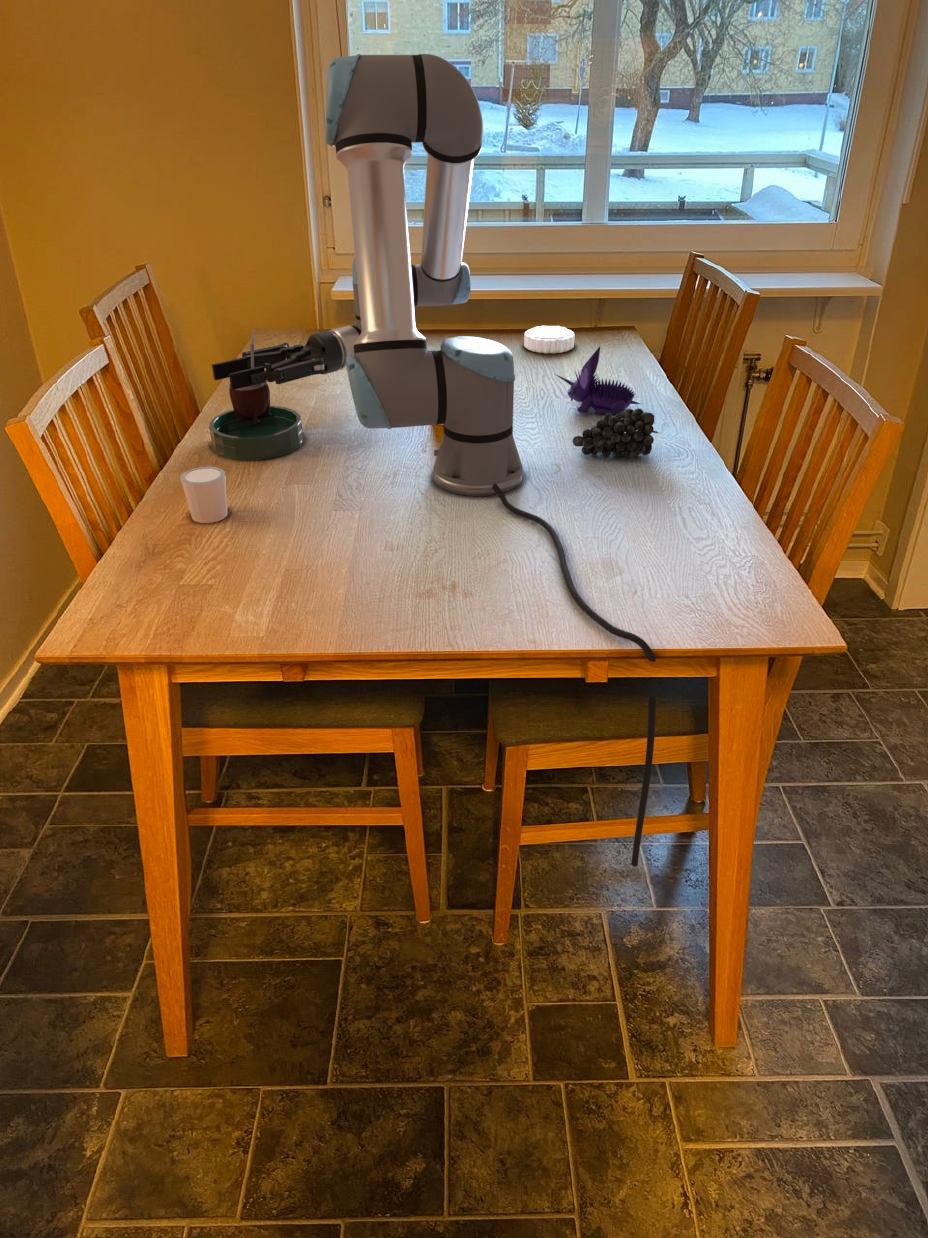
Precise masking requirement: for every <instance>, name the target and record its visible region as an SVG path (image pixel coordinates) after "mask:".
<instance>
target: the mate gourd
mask: <svg viewBox="0 0 928 1238" xmlns="http://www.w3.org/2000/svg"><path fill="white" fill-rule="evenodd" d="M257 331H258V328H253V331H252V335H251V340H250V344H249V351H251V368H254V350H255V340H256V335H257ZM228 386H229V387H228V388H229V390H228V391H229V392H228V393H229V397H230V401H231V406H232V410H233V409H234V411H235V413H236V415H237V417H238V419H237V422H238V423H240V422H245V421H251V420H253V421H254V423H255V424H260V421H259V420H258V419H261V418H266V417H271V413H269V409H270V406H271V393H270V392H271V391H270V386H269V384H268V381H266V382H263V383H259V384H255V385H251V386H247V387H243V388H239V389H235V390H232V389H231V385H230V384H229V385H228Z"/></svg>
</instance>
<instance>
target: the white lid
mask: <svg viewBox="0 0 928 1238" xmlns="http://www.w3.org/2000/svg"><path fill="white" fill-rule="evenodd" d="M523 335H524V337H523V346H524V348H526V350H528V351H531V352H536V353H538V354H561V353H566V352H569V351H571V350H573V348H574V347H575V338H576V336H575V332H574V331H572V330H571V329H568V328H566V326H560V325H540V326H535V327H532V328H530V329H526V331H524V334H523Z"/></svg>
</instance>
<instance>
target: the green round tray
mask: <svg viewBox="0 0 928 1238" xmlns="http://www.w3.org/2000/svg"><path fill="white" fill-rule="evenodd" d="M269 413H271V417H266V418H261V419H258V420H259V421H260V424H255V423H254V421H253V420H251V421H245V422H240V423H238V422H237V419H238V417H237V415H236V413H235V411H234V409H233V408H232V409H230V410H227V411H224V412H221V413H220V414H218V415H216V416H214V417H213V418H212V419H211V420H210V421H209V433H210V441H211V447H212V449H213V451H214V452H215V453H216V454H218V455H219V456H221V457H223V458H227V459H231V460H235V461H236V460H237V461H261V460H270V459H274V458H278V457H281V456H285V455H288V454H290V453H292V452H294V451H296V450H298V449H299V448H300V447H301V445H302V444H303V442H304V435H303V434H304V433H303V424H302V416H301V414H300V413H299V412H297V411H296V410H294V409H292V408H289V407H285V406H279V405H270V409H269Z"/></svg>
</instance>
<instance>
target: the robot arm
mask: <svg viewBox="0 0 928 1238" xmlns="http://www.w3.org/2000/svg"><path fill="white" fill-rule="evenodd" d="M326 74H327V75H326V98H325V99H326V102H325V103H326V104H325V135H324V136H325V140H324V141H325V144H326V145H328V146H330V147H335V157H336V160H337V161H338V162H340V164H342V165H343V167H345V168H346V170H347V180H348V191H349V202H350V213H351V214H350V215H351V224H352V237H353V247H354V258H353V260H352V264H351V265H352V266H351V267H352V268H351V269H352V271H351V272H352V281H351V284H352V292H353V303H354V304H353V305H354V318H355V319H354V320H355V324H352V325H345V326H340V327H336V328H331V329H330V330H324V331H321V332H315V333H312V334H310V335H309V337H308V338H307V340H306V341H307V342H306V343H305V345H303V344H295V345H293V346H290V343H289V342H283V343H280V344H277V345H273V346H268V347H264V348H258V349H254V368H251V350H247V351H243V352H241V356H242V357H238V358H234V359H229V360H225V361H221V362H218V363H217V362H216V363H213V364H211V368H212V375H213V380H214V381H219V380H223V379H227V378H228V379H229V385H231V389H232V390H235V389H239V388H243V387H247V386H251V385H255V384H259V383H263V382H266V381H267V383H273V382H275V384H276V385H282V384H285V383H288V382H292V381H296V380H299V379H300V380H301V379H304V378H308V377H311V376H314V375H327V374H331V373H336V372H338V371H342V370H346V372H347V378H348V382H349V386H350V391H351V396H352V401H353V404H354V409H355V411H356V416H357V418H358V421H359V423H360V424H361V425H362V426H363V427H365V429H387V430H391V429H396V428H410V427H422V426H423V427H425V426H436V425H442V426H443V428H442V430H443V431H442V432H443V434H442V438H441V442H440V445H439V448H438V449H434V450H433V457H436V458H435V461H434V464H433V480H434V483H435V484H436V485H437V486H438V487H439V488H441V489H443V490H445V491H447V492H450V493H453V494H456V495H460V496H461V495H463V496H468V497H469V496H470V497H471V496H472V497H483V496H484V497H486V496H494V495H497V497H498V498H499V499H500V501H501V503H502V505H503V507H505V508H506V509H507V510H508V511H510V512H511V513H513V514H515V515H516V516H518V517H521V518H524V519H527V520H529V521H532V522H534V523H537V524H539V525H540V526H541V527H542V528H543V529H545V530H546V532H547V533H548V534H549V536H550V538H551V540H552V542H553V544H554V547H555V549H556V551H557V554H558V560H559V565H560V569H561V573H562V577H563V579H564V582H565V586H566V588H567V590H568V593H569V594H570V596H571V598H572V600H574V603H576V605H577V606H578V607H579V608H580V609H581V610H582V611H583V613H585V614H586V615H587V616H588V617H589V618H590V619H591V620H593V621H594V622H595V623H597V624H598V625H599V626H600V627H602V628H603V629H605V630H606V631H607V632H609V633H610V634H612V635H614V636H616V637H618V638H619V637H620V638H622V639H625V640H628V641H631V642H633V643H635V644H636V645H637V646H639V648H641V650H642V652H643V653H644V654H645V656H646V658H647V660H648V661H649V662H652V663H656V662H657V660H656V656H655V654H654V652H653V650H652V648H651V646H650V645H649V644H648V643H647V641H645V640H644V639H643V638H642V637H640V636H638V635H637V634H634V633H633V632H630V631H626V630H624V629H621V628H619V627H616V626H613V624H611V623H610V622H608V621H607V620H605V619H604V618H603V617H601V616H600V615H599V614H598V613H596V612H595V611H594V610H593V609H592V608H591V607H590V606H589V605H588V604H587V603H586V602H585V601H584V600H583V599H582V597H581V596H580V594H579V593H578V591H577V590H576V587H575V585H574V582H573V580H572V576H571V573H570V570H569V568H568V565H567V564H568V563H567V559H566V554H565V553H566V552H565V550H564V547H563V545H562V543H561V540H560V538H559V536H558V533H556V531H555V529H554V528H553V526H551V524H550V523H548V522H547V521H546V520H545V519H543V518H541V517H540V516H538V515H536V514H534V513H530V512H528V511H525V510H522V509H520V508H517V507H515V506H514V505H513V504H512V503H510V502H509V500H508V499H507V497H506V495H505V494H504V493H506V492H509V491H511V490H514V489H515V488H516V487H518V486H519V485H520V484H521V483H522V480H523V471H524V470H523V464H522V461H521V458H520V454H519V451H518V448H517V445H516V441H515V438H514V430H513V429H514V428H513V427H514V399H515V398H514V393H515V381H516V375H515V360H514V356H513V353H512V352H511V350H510V349H509V348H508V347H507V346H506V345H504V344H503V343H500V342H498V341H494V340H492V339H487V338H485V337H484V338H483V337H479V336H477V337H476V336H467V335H458V336H457V335H455V336H452V337H448V338H447V337H446V338H444V339H443V340H442V342H441V345H440V346H439V347H440V350H428V346H427V338H426V337H425V336H424V335H423V334H422V333H421V332H419V330H418V329H417V326H416V316H415V307H435V306H437V307H438V306H452V305H459V304H465V303H467V302H468V301H469V299H470V297H471V290H472V289H471V286H472V283H471V282H472V281H471V272H470V268H469V265H468V264H467V263H465V262H462V260H463V255H464V254H463V253H464V245H465V236H466V229H467V220H468V213H469V212H468V211H469V204H470V203H469V202H470V195H471V186H472V178H473V169H474V163H475V162H474V161H475V160H476V159H477V157H478V156H479V155H480V154H481V151H482V148H483V140H484V119H483V113H482V109H481V106H480V102H479V99H478V97H477V95H476V93H475V91H474V88H473V87H472V85H471V83H470V82H469V80H468V79H467V78H466V77H465V75H464V74H463V73H462V72H461V71H460V70H459V69H458V68H457V67H456V66H455V64H452V63H451V62H450V61H448V60H447V59H445V58H442V57H441V56H438V55H435V54H431V53H419V54H361V53H357V54H356V55H347V56H337V57H334V58H332V60H331V61H330V62H329V63H328V65H327V71H326ZM413 143H422V144H421V145H422V147H423V150H424V151H425V153H426V154H427V159H426V174H425V175H426V177H425V188H424V189H425V192H424V206H423V223H422V238H421V239H422V241H421V253H420V254H421V255H420V264H419V263H418V264H412V262H411V250H410V249H411V248H410V235H409V222H408V209H407V197H406V183H405V182H406V181H405V169H404V168H405V165H406V163H407V162H408V161H409V160H410V158H411V157H412V156H413ZM656 699H657V697H656V696H651V697H648V708H647V709H648V711H647V712H648V716H647V720H648V721H647V735H646V750H645V760H644V769H643V778H642V784H641V792H640V799H639V804H638V811H637V818H636V825H635V832H634V838H633V846H632V854H631V864H630V865H631V866H632V867H638V865H639V858H640V848H641V842H642V836H643V835H642V834H643V829H644V828H643V827H644V821H645V814H646V809H647V802H648V797H649V790H650V783H651V776H652V768H653V767H652V766H653V758H654V748H655V737H656V736H655V734H656V733H655V732H656V711H657V705H656V704H657V703H656V701H657V700H656Z"/></svg>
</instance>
